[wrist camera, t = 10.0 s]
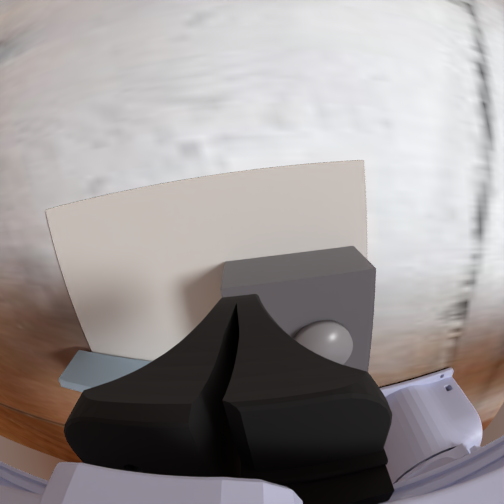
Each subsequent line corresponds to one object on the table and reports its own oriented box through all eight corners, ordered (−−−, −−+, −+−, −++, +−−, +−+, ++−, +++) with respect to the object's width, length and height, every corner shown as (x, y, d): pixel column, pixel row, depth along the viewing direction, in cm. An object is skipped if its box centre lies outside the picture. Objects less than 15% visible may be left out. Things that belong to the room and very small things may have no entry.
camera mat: (361, 160, 18) (363, 160, 18) (359, 371, 24) (360, 374, 23) (48, 208, 19) (45, 210, 18) (113, 390, 24) (112, 393, 24)
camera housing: (353, 245, 20) (379, 272, 15) (350, 354, 23) (368, 393, 18) (220, 262, 20) (213, 294, 16) (240, 369, 23) (239, 412, 18)
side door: (78, 347, 22) (57, 377, 18) (239, 367, 22) (238, 404, 19) (83, 365, 23) (65, 395, 19) (238, 385, 23) (237, 422, 19)
